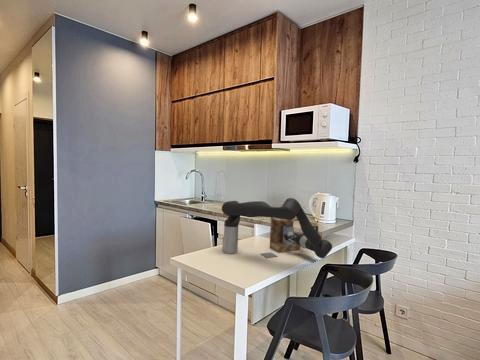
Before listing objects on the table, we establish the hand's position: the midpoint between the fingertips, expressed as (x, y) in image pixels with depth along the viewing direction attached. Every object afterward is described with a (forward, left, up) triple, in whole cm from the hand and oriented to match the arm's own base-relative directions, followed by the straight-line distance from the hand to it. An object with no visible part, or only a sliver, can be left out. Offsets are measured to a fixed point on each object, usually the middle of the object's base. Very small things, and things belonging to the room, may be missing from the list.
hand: (289, 235), depth 189 cm
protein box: (+23, +6, -11) cm, 26 cm away
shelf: (-1, +3, -10) cm, 11 cm away
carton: (0, +2, -6) cm, 7 cm away
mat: (-19, -5, -10) cm, 22 cm away
